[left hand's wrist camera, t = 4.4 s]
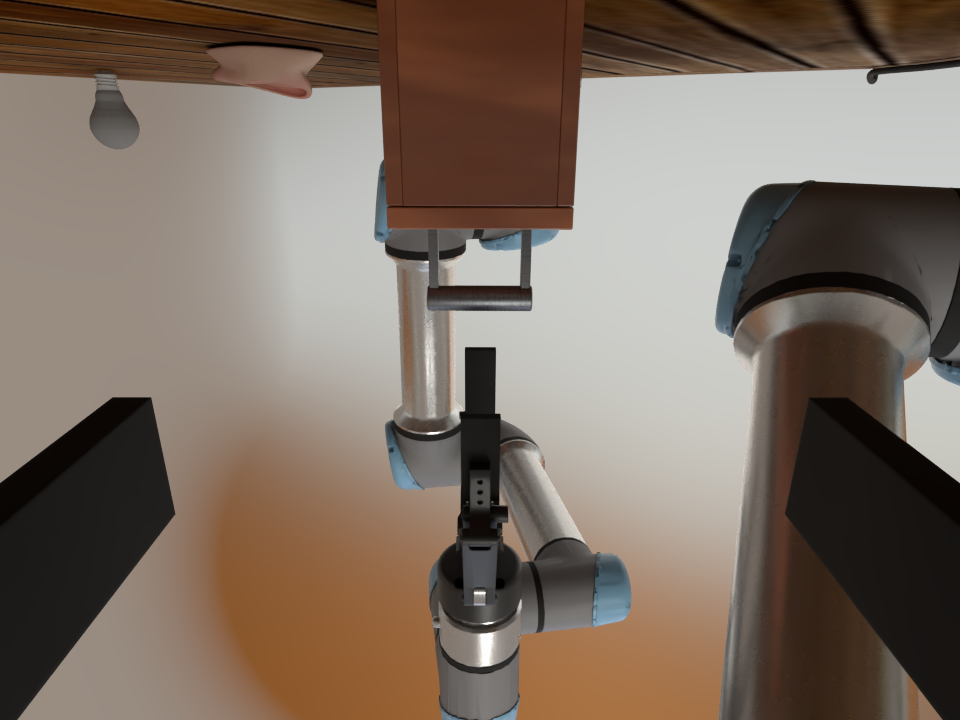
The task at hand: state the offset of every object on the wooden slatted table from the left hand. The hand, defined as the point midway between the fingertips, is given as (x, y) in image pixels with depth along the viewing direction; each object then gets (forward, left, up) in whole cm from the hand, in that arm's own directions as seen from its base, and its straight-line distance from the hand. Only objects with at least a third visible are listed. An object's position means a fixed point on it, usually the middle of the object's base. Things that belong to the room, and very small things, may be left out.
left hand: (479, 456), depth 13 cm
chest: (-24, +17, -13) cm, 32 cm away
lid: (-24, +17, -2) cm, 30 cm away
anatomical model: (-35, +50, -13) cm, 63 cm away
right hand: (-28, +20, +12) cm, 36 cm away
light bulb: (-38, +89, -13) cm, 97 cm away
